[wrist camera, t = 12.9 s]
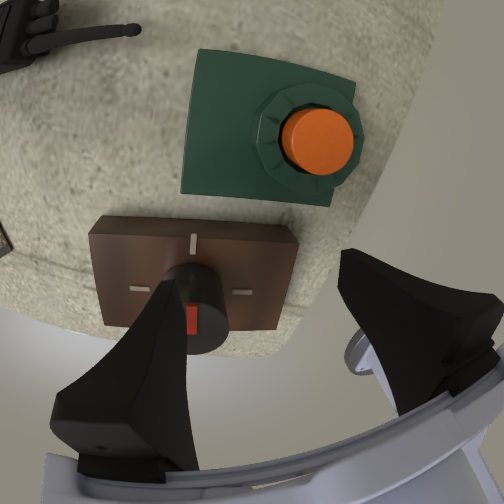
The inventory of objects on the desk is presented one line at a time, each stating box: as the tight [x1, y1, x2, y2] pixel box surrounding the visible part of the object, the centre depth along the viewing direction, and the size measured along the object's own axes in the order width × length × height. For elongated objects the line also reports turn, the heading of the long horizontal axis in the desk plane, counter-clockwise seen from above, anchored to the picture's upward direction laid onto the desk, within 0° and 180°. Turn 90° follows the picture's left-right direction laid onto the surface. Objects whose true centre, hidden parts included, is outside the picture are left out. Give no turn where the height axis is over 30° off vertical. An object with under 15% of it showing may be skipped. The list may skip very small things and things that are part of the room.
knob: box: [161, 264, 229, 355], centre depth 17 cm, size 4×4×4 cm
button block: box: [180, 49, 364, 207], centre depth 16 cm, size 10×9×4 cm
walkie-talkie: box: [0, 0, 142, 74], centre depth 7 cm, size 6×6×20 cm
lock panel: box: [88, 216, 299, 331], centre depth 20 cm, size 14×9×3 cm, turn 81°
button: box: [282, 108, 354, 175], centre depth 14 cm, size 4×4×2 cm
